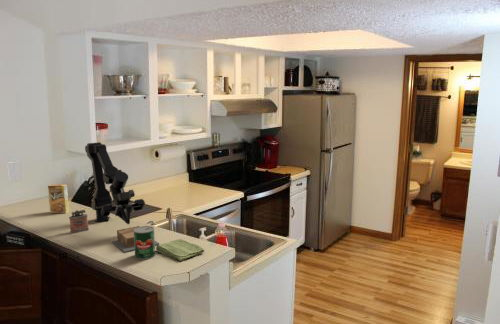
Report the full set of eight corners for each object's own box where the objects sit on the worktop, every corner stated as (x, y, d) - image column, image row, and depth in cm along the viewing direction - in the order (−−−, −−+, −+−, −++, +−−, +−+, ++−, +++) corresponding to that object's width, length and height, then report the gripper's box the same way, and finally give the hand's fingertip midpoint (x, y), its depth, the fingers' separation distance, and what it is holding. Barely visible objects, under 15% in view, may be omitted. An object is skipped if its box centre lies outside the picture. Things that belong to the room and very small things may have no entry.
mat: (112, 242, 186) (112, 241, 186) (145, 235, 195) (145, 234, 195) (124, 252, 174) (124, 251, 174) (159, 244, 183) (159, 243, 183)
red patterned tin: (71, 233, 198) (69, 212, 197) (69, 231, 201) (67, 211, 200) (89, 230, 203) (87, 209, 201) (87, 228, 206) (86, 208, 204)
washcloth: (180, 263, 164) (180, 255, 163) (154, 252, 176) (153, 244, 175) (206, 253, 173) (206, 246, 173) (179, 243, 185) (179, 236, 185)
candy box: (50, 213, 232) (47, 185, 230) (54, 211, 236) (51, 183, 234) (65, 213, 232) (63, 185, 229) (69, 211, 236) (67, 183, 233)
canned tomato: (139, 261, 165) (137, 233, 164) (132, 255, 172) (130, 228, 170) (158, 256, 170) (157, 229, 168) (150, 250, 176) (149, 224, 175)
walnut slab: (116, 230, 188) (126, 238, 178) (138, 225, 194) (150, 233, 183) (117, 239, 189) (127, 247, 178) (139, 234, 194) (150, 242, 184)
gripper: (100, 187, 185) (110, 218, 178) (142, 181, 196) (153, 210, 189) (96, 201, 193) (106, 231, 186) (136, 195, 203) (147, 223, 196)
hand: (128, 223), depth 189 cm, fingers closed
